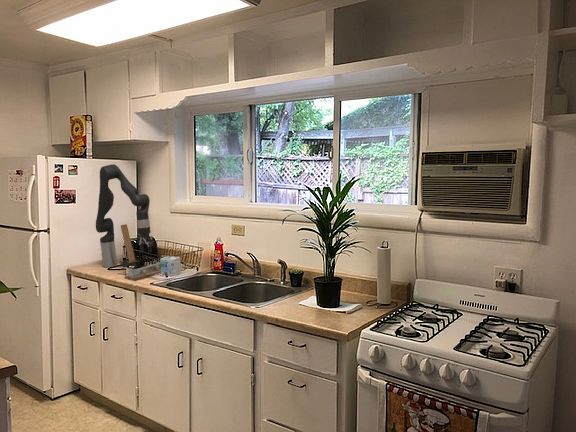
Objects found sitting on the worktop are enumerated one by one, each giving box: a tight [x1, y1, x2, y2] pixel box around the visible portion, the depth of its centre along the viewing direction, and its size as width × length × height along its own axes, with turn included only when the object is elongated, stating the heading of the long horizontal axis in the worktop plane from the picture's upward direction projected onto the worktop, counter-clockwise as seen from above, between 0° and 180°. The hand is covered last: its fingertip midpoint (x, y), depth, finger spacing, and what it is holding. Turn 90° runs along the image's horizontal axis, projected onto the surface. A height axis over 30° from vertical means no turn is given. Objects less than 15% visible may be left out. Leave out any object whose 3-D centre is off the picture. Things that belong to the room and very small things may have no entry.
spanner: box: [127, 261, 161, 277], centre depth 302 cm, size 5×25×4 cm, turn 140°
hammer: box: [119, 223, 146, 268], centre depth 322 cm, size 20×5×30 cm, turn 54°
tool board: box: [124, 266, 161, 282], centre depth 302 cm, size 12×27×4 cm, turn 140°
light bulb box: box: [159, 256, 182, 277], centre depth 298 cm, size 11×7×11 cm, turn 72°
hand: (146, 251), depth 300 cm, fingers open, 8 cm apart
